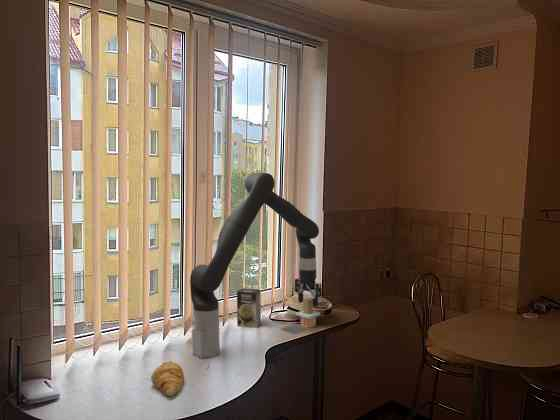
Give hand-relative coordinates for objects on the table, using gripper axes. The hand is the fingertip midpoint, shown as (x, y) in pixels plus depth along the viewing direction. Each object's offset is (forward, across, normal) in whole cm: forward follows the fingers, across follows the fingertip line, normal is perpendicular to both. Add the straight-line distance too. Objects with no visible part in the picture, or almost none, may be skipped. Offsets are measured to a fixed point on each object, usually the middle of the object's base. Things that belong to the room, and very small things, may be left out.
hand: (308, 304), depth 204 cm
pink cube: (+10, 0, 0) cm, 10 cm away
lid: (+5, 0, 0) cm, 5 cm away
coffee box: (+10, -18, -18) cm, 28 cm away
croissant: (+10, +6, -72) cm, 73 cm away
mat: (+10, 0, -8) cm, 13 cm away
